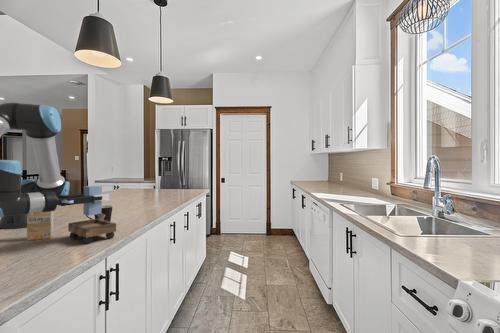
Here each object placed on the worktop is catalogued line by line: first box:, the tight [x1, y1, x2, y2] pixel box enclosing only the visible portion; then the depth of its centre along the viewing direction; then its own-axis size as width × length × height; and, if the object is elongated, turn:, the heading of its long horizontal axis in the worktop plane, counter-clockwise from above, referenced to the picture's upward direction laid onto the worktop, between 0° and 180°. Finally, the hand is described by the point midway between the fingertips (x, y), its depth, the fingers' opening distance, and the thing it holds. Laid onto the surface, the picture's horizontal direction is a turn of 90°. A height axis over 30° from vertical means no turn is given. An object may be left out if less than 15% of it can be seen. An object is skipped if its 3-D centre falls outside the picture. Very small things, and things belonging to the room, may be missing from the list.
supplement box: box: [26, 210, 55, 241], centre depth 109 cm, size 8×5×13 cm, turn 117°
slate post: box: [83, 185, 103, 217], centre depth 110 cm, size 5×5×12 cm
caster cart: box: [67, 218, 117, 245], centre depth 110 cm, size 16×12×6 cm
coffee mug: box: [85, 204, 113, 222], centre depth 132 cm, size 12×9×10 cm
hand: (105, 196), depth 115 cm, fingers closed on slate post, 5 cm apart
